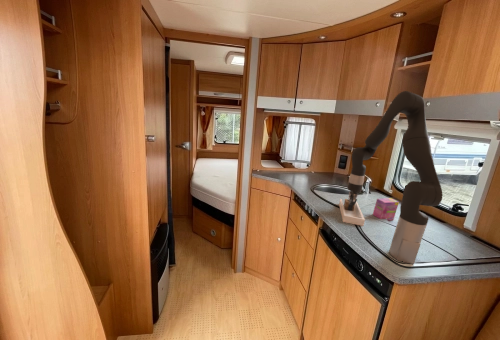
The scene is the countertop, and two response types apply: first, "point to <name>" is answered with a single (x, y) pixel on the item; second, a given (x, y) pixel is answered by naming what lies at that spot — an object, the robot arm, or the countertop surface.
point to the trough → (352, 214)
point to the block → (347, 205)
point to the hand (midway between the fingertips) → (349, 210)
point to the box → (385, 208)
